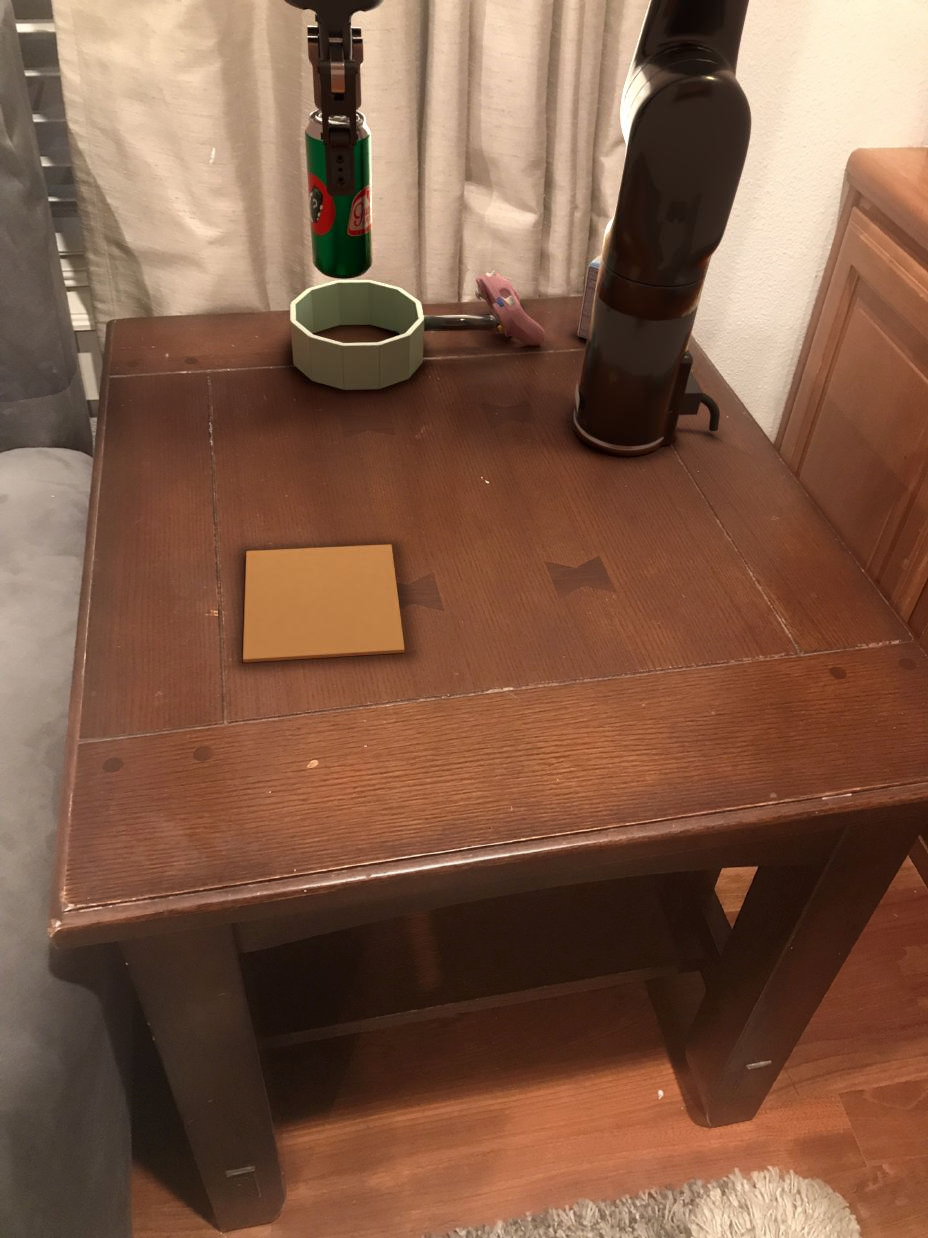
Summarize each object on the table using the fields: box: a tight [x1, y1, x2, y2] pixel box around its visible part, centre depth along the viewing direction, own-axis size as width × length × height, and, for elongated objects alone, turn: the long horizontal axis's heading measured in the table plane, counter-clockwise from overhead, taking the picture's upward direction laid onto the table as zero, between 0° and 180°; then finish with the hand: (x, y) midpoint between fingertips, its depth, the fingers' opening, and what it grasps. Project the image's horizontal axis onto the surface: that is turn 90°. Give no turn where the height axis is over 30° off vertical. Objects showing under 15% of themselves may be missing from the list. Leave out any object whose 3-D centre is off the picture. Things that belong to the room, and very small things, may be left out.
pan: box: [289, 279, 498, 391], centre depth 100 cm, size 22×14×5 cm, turn 98°
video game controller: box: [474, 269, 546, 347], centre depth 105 cm, size 10×5×7 cm, turn 17°
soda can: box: [304, 109, 374, 280], centre depth 77 cm, size 5×5×12 cm
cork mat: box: [242, 543, 405, 664], centre depth 75 cm, size 12×12×1 cm
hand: (339, 178), depth 76 cm, fingers closed on soda can, 5 cm apart
